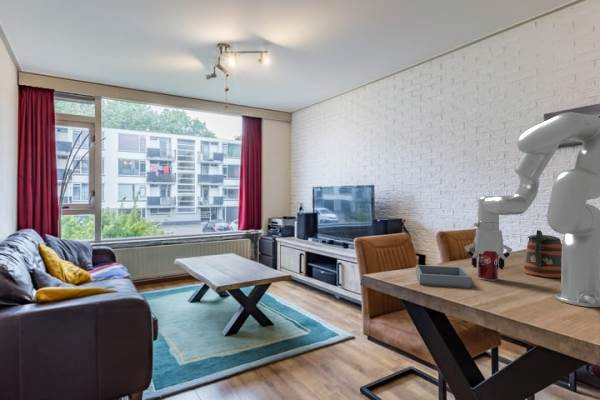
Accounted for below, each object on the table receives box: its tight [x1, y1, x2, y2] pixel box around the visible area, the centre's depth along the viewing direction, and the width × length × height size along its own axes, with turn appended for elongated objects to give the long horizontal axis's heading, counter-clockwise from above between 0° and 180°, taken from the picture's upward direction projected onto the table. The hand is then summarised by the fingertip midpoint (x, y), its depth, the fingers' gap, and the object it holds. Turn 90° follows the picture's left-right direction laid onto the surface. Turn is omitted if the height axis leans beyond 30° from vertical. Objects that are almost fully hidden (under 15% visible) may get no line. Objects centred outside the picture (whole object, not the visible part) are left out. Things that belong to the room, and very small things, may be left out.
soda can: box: [477, 251, 499, 282], centre depth 137 cm, size 7×7×12 cm
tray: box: [415, 264, 473, 289], centre depth 134 cm, size 18×18×4 cm
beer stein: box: [523, 229, 562, 279], centre depth 144 cm, size 19×15×20 cm
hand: (487, 267), depth 137 cm, fingers open, 9 cm apart
